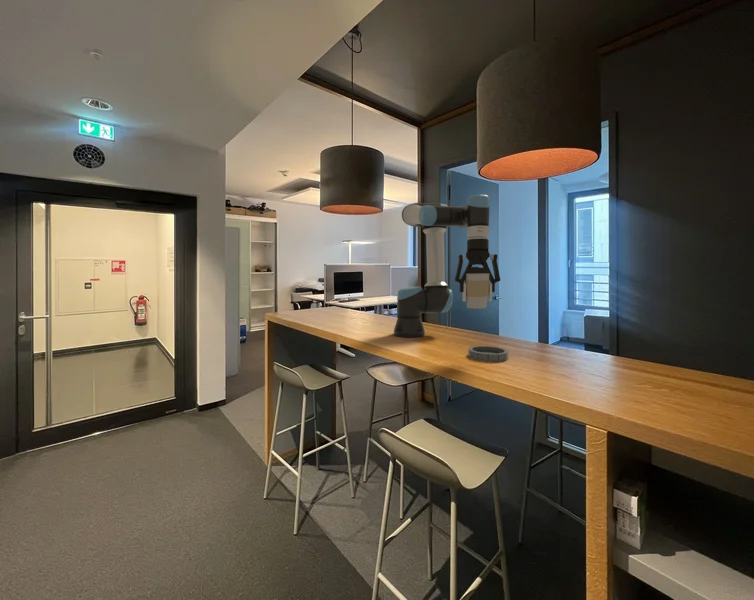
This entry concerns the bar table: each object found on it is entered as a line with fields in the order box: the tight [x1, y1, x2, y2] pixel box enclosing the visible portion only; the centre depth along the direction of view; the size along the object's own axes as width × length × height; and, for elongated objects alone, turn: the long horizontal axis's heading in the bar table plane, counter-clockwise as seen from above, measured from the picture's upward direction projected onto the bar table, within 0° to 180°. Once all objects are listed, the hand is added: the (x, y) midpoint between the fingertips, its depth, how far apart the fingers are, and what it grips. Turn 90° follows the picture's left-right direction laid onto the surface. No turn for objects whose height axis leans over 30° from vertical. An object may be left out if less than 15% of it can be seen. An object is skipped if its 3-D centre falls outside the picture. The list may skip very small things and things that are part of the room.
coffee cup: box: [464, 266, 491, 309], centre depth 128 cm, size 9×9×15 cm
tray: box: [467, 345, 509, 362], centre depth 128 cm, size 14×14×2 cm
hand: (476, 301), depth 128 cm, fingers closed on coffee cup, 8 cm apart
